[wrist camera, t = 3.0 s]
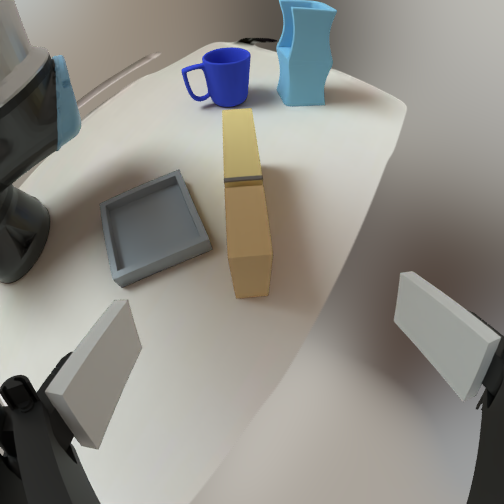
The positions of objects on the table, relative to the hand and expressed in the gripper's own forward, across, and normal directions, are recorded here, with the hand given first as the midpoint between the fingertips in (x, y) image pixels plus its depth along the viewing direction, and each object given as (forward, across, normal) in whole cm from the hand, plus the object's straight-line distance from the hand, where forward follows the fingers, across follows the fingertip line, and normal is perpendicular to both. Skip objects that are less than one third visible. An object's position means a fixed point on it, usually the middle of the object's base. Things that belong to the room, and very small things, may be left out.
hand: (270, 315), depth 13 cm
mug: (+43, -3, +20) cm, 48 cm away
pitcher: (+44, +12, +20) cm, 50 cm away
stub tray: (+24, -12, 0) cm, 27 cm away
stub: (+19, -1, -5) cm, 20 cm away
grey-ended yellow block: (+26, 0, +3) cm, 27 cm away
